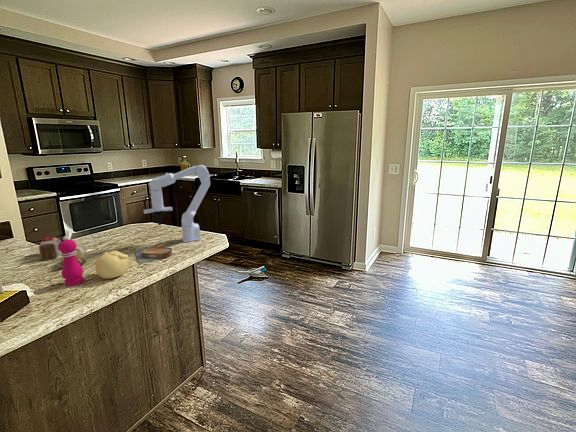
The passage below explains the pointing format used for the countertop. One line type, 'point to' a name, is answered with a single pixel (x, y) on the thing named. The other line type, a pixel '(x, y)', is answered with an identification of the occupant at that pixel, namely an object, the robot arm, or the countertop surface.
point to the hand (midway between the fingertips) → (159, 224)
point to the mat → (143, 259)
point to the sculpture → (111, 264)
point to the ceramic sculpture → (77, 256)
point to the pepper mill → (70, 263)
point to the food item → (49, 248)
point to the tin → (156, 252)
